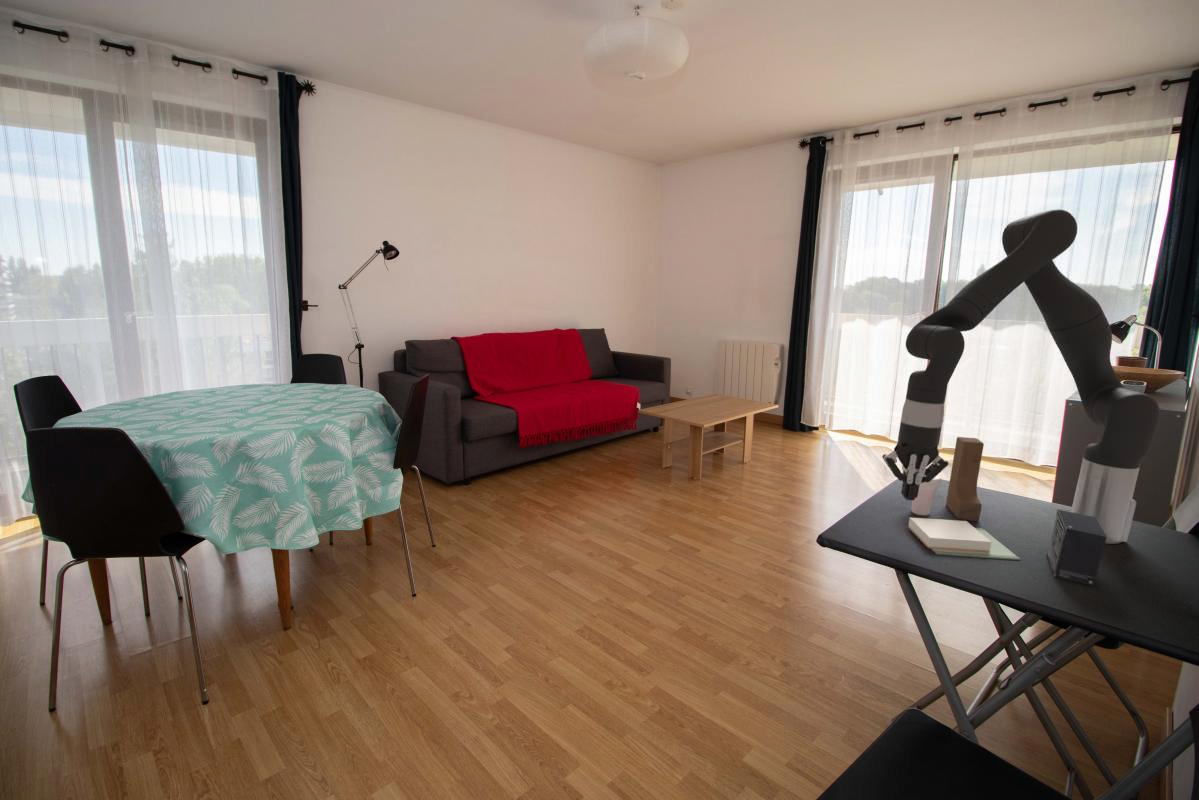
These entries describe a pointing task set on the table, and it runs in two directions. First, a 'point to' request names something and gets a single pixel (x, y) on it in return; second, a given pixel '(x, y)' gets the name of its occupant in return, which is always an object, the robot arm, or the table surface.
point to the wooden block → (965, 479)
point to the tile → (949, 535)
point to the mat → (995, 552)
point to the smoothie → (925, 496)
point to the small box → (1076, 547)
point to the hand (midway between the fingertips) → (908, 498)
